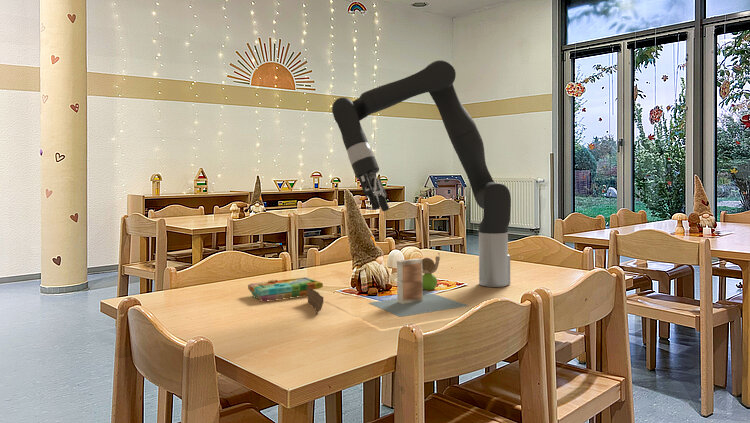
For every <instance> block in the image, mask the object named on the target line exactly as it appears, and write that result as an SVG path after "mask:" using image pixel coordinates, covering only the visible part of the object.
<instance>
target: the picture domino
mask: <svg viewBox="0 0 750 423" xmlns="http://www.w3.org/2000/svg"><path fill="white" fill-rule="evenodd" d="M422 259H423V258H418V257H416V258H409V259H408V258H407V259H398V260H396V286H397V287H396V290H397V291H396V293H397V296H396V297H397V298H396V299H397V302H398V303H401V304H404V303H411V302H418V301H423V295H424V289H423V275H424V274H423V271H422V270H423V269H422Z"/></svg>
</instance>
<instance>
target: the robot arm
mask: <svg viewBox="0 0 750 423" xmlns="http://www.w3.org/2000/svg"><path fill="white" fill-rule="evenodd" d="M456 73H457V72H456V69H455V67H454V66H453V65H452V63H450V62H449V61H448V60H443V59H442V60H441V59H439V60H435V61H433V62H431V63H429V64H428V65H427V66H425V67H424V68H423V69H421V70H420V71H418V72H416V73H414V74H411V75H408V76H406V77H404V78H401V79H398V80H394V81H392V82H389V83H385V84H383V85H380V86H377V87H375V88H372V89H370V90H367V91H365V92H362V93H361V94H360V96H359V98H357V99H355V100H353V101H352V100H351V99H350V98H348V97H339V98H337V99H336V100H335V101H334V102H333V104H332V108H331V112H332V116H333V118H334V121H335V123H336V124H337V126H338V129H339V131H340V134H341V138H342V142H343V146H344V147H345V149H346V152H347V157H348V160H349V163H350V165H351V168H352V170H353V173H354V176H355V179H357V180H358V181H359V184H360V186H361V189H362V191H363V195H364V196H365V197H366V198H367V199H368V201H369V202H370V205H371V208H372V210H374V211H375V210H378V209H381V211H382V212H387V211H389V210H390V207H389V204H388V202H387V200H386V197H388V194H387V192H386V190H385V188H384V185H383V183H382V180H381V178H378V177H377V176H376V174H377V173H379V171H380V167H379V164H378V162H377V159H376V157H375V154H374V152H373V150H372V147H371V145H370V144H369V142H368V141H369V140H368V138H367V136H366V134H365V131H364V129H363V128H362V125H361V121H362V120H364V119H366V118H367V117H368V116H370V115H372V114H376V113H378V112H381V111H384V110H386V109H389V108H391V107H393V106H396V105H397V104H400V103H402V102H404V101H406V100H409V99H411V98H414V97H417V96H419V95H422V94H425V93H429V95H430V97H431V98H432V100H433V102H434V104H435V105H436V108H437V109H438V112H439V114H440V117H441V120H442V123H443V126H444V128H445V132H446V133H447V136H448V137H449V138H448V139H449V141H450V142H451V144H452V146H453V149H454V152H455V153H456V155H457V157H458V160H459V162H460V163H461V166H462V167H463V170H464V172H465V174H466V176H467V178H468V182H469V185H470V188H471V192H472V195H473V197H474V199H475V203H476V204H477V205H478V207H479V208H480V209H483V215H482V219H481V221H480V222H479V224H478V282H479V283H478V284H479V285H480V286H483V287H489V288H500V287H506V286H508V285H511V255H510V254H509V242H508V241H509V232H508V230H509V226H510V223H511V209H512V208H511V207H512V199H511V198H512V197H511V192H510V190H509V188H508V186H506V185H505V184H504V183H501V182H495V181H494V179H493V177H492V175H491V173H490V171H489V169H488V166H487V162H486V156H485V146H484V141H483V139H482V135H481V134H480V131H479V128H478V127H477V125H476V122H475V121H474V119H473V117H472V116H471V115H470V113H469V112H468V111H467V109H466V108H465V107H464V105H463V104H462V102H461V100H460V99H459V97H458V94H457V91H456V88H455V86H454V82H455V79H456V75H457V74H456Z"/></svg>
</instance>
